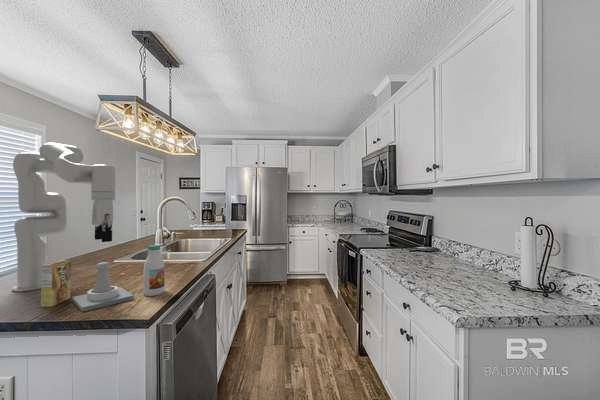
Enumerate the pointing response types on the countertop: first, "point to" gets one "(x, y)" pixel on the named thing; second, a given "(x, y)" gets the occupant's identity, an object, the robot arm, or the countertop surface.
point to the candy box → (55, 282)
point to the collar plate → (101, 303)
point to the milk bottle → (153, 272)
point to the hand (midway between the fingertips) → (103, 240)
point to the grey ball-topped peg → (102, 278)
